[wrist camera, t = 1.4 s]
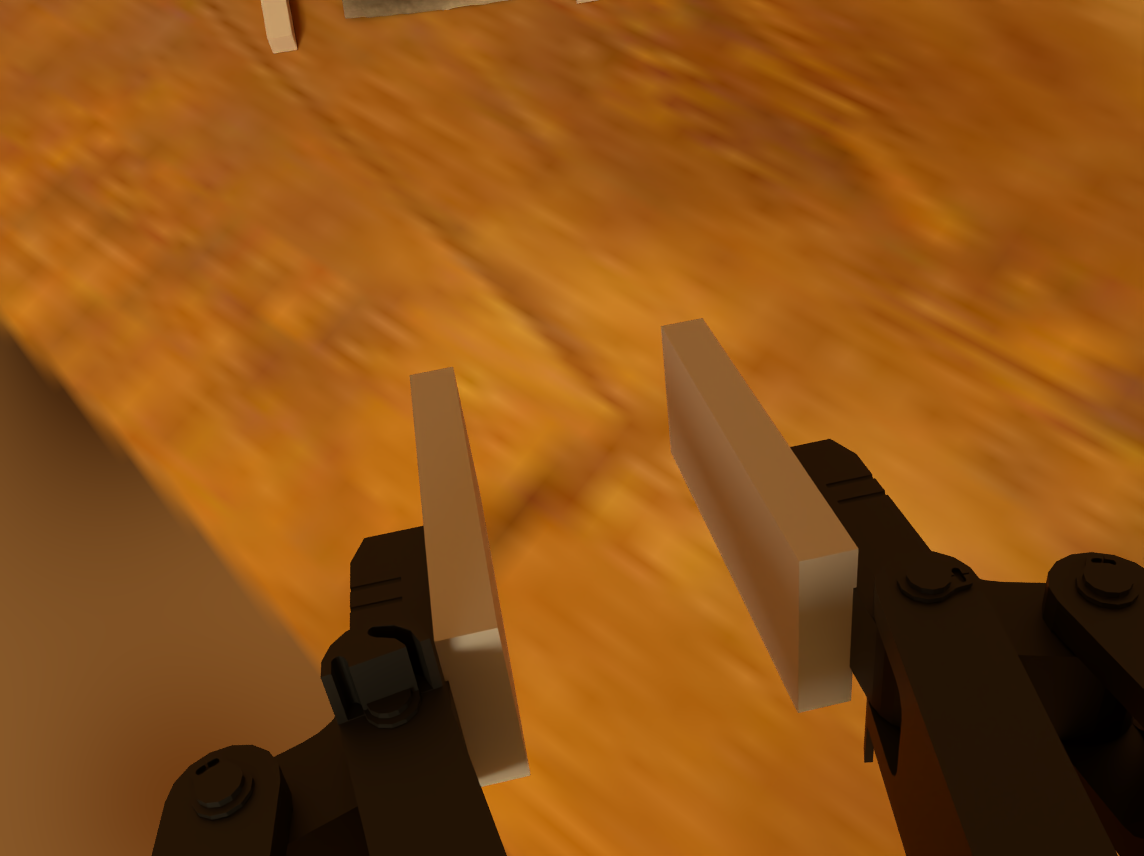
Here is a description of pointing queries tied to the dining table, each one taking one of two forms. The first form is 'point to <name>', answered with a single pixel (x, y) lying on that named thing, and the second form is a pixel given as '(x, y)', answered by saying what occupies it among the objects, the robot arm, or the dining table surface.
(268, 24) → the t outline
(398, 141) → the dining table surface
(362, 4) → the condiment
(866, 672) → the robot arm
